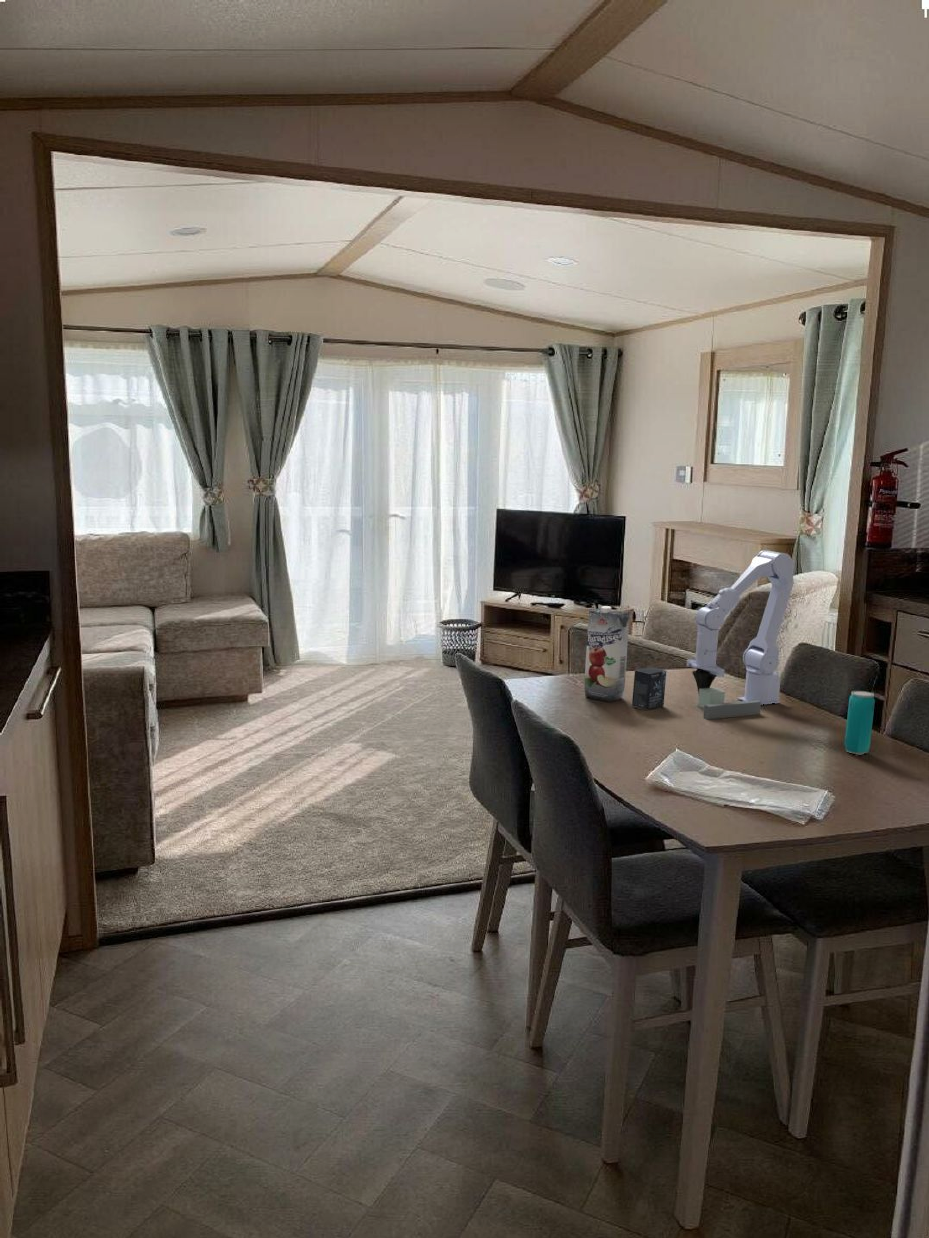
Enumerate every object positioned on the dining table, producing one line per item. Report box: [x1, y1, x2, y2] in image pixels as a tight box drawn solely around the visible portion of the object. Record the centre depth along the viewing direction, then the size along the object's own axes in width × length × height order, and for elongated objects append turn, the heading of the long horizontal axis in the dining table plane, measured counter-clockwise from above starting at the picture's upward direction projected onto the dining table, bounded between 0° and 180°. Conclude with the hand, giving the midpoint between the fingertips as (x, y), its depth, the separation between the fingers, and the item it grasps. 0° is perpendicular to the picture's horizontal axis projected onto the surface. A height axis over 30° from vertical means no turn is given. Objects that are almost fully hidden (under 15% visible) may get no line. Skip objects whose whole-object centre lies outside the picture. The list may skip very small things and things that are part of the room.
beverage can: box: [844, 690, 876, 754], centre depth 240 cm, size 6×6×15 cm
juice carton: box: [584, 605, 630, 703], centre depth 284 cm, size 9×10×27 cm
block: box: [697, 687, 726, 709], centre depth 280 cm, size 5×5×5 cm
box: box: [631, 666, 667, 711], centre depth 278 cm, size 8×6×11 cm
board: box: [702, 700, 762, 720], centre depth 272 cm, size 18×2×4 cm, turn 115°
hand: (702, 695), depth 283 cm, fingers closed
